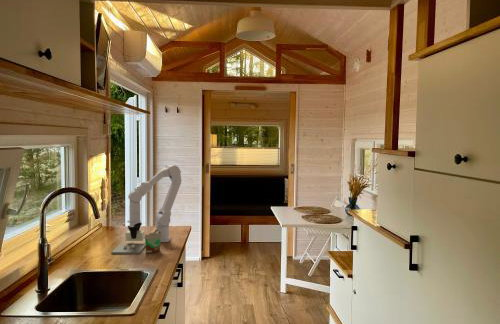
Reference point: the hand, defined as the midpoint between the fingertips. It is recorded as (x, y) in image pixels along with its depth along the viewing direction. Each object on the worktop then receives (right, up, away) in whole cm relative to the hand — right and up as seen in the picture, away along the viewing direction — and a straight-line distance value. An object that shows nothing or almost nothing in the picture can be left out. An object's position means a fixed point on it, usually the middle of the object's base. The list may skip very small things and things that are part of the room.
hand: (134, 237), depth 205 cm
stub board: (+1, -4, -12) cm, 13 cm away
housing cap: (0, -1, 0) cm, 1 cm away
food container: (+15, -5, -13) cm, 20 cm away
